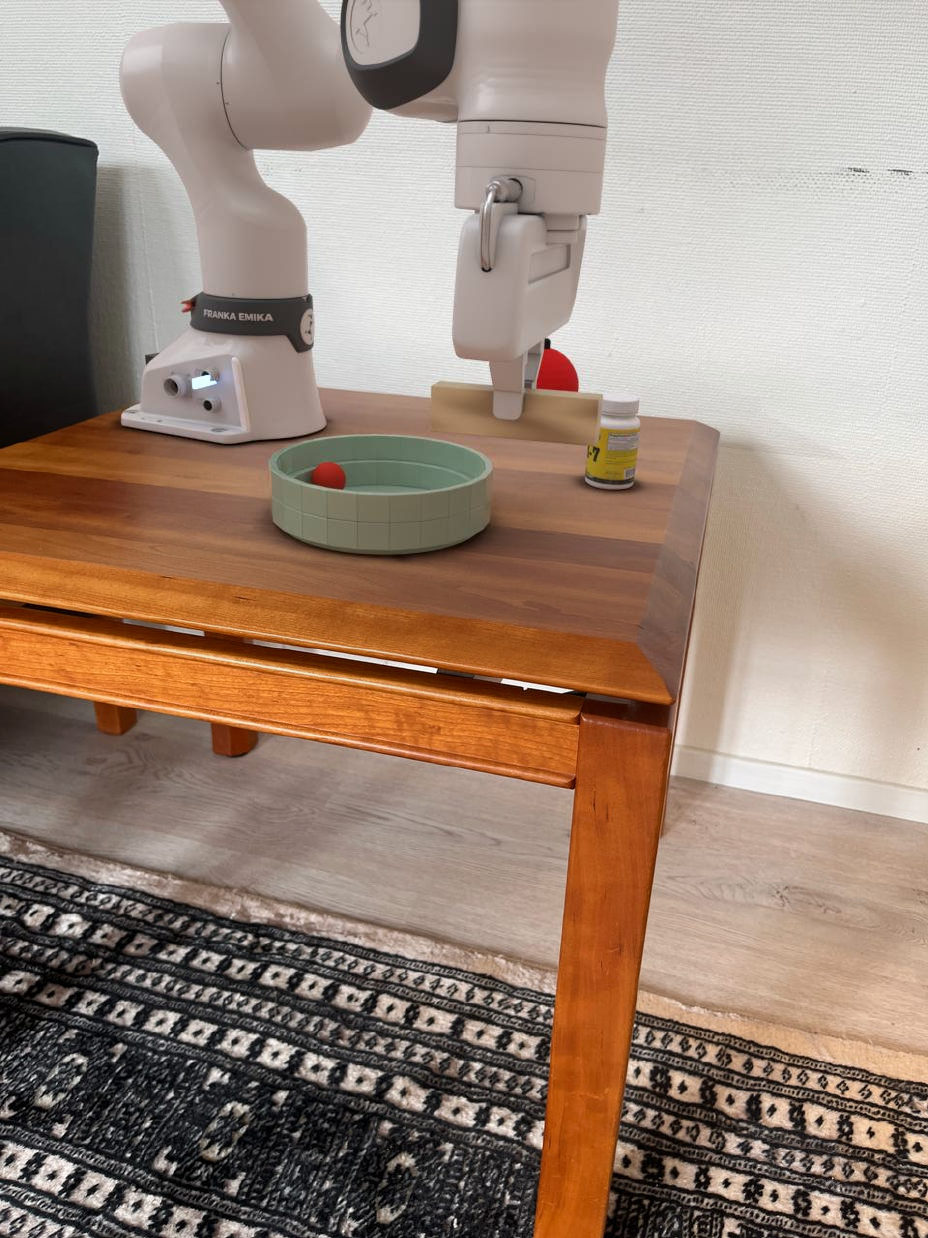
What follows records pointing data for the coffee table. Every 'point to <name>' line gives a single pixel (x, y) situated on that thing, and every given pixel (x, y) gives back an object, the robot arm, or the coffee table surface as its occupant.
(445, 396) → the block
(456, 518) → the bowl
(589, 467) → the supplement bottle
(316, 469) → the ball
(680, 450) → the coffee table surface
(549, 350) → the ornament
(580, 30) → the robot arm
